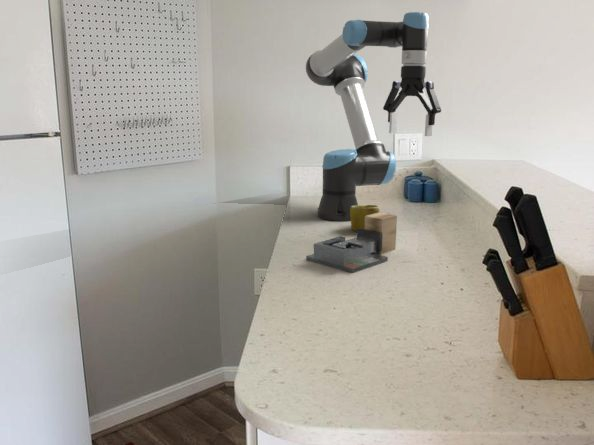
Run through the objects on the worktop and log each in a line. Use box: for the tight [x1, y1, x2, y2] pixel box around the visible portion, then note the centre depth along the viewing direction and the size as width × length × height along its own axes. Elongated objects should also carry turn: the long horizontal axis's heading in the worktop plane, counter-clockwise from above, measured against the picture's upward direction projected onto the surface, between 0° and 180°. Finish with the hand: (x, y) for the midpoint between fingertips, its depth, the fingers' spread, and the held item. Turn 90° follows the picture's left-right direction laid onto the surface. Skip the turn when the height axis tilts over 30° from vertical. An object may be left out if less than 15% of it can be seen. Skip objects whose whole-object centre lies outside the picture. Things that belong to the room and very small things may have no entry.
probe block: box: [365, 211, 398, 255], centre depth 168 cm, size 6×7×10 cm
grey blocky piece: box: [331, 228, 383, 253], centre depth 160 cm, size 11×13×5 cm
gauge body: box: [305, 236, 389, 274], centre depth 159 cm, size 16×15×5 cm
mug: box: [350, 204, 380, 233], centre depth 191 cm, size 12×10×10 cm
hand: (409, 134), depth 188 cm, fingers open, 13 cm apart
